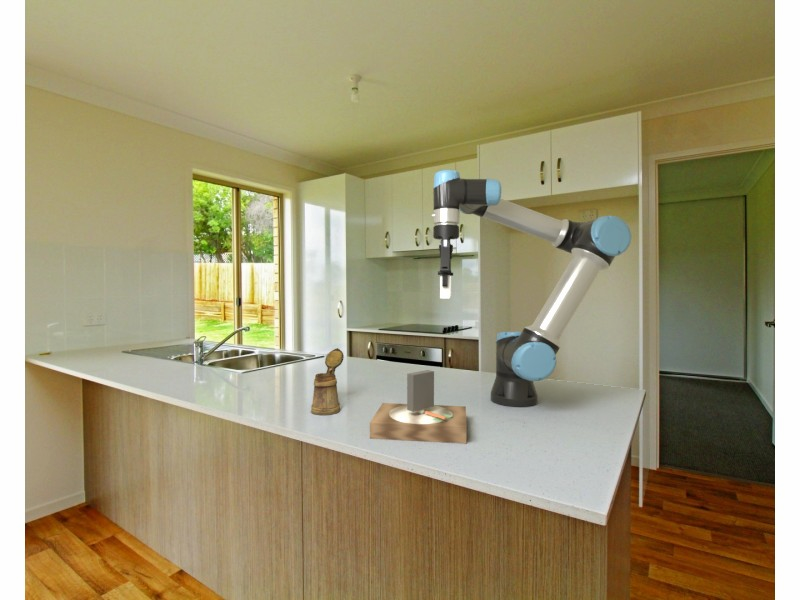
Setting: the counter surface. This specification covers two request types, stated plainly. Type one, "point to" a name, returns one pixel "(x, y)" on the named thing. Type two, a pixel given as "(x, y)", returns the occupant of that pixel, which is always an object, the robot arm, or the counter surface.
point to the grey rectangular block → (421, 392)
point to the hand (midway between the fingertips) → (445, 297)
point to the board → (419, 424)
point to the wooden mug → (327, 386)
